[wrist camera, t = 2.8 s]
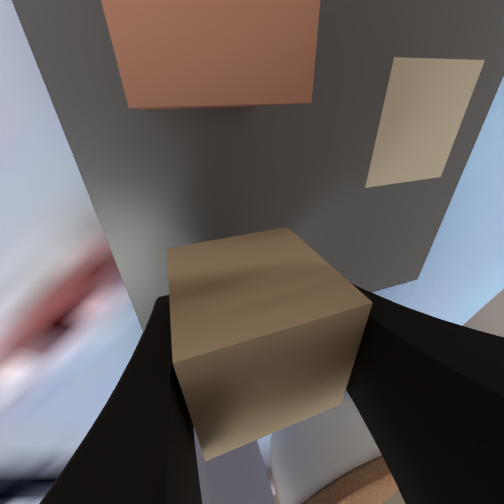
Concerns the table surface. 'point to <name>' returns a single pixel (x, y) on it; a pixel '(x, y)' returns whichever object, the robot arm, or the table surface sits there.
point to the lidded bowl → (329, 460)
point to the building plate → (283, 139)
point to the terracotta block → (214, 51)
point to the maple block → (259, 334)
